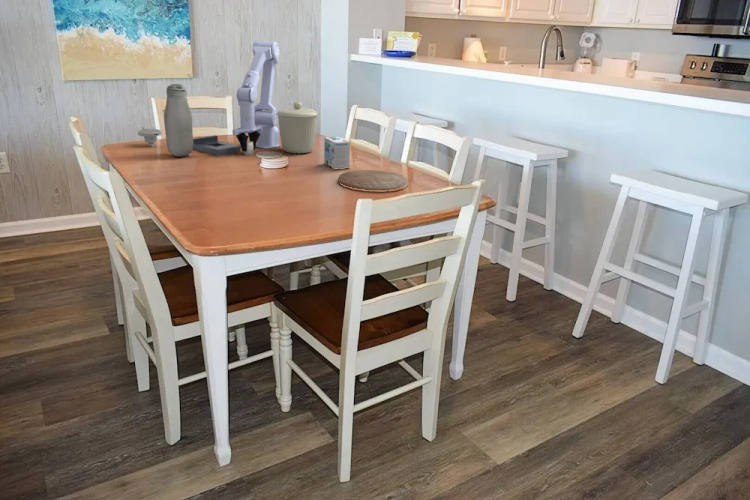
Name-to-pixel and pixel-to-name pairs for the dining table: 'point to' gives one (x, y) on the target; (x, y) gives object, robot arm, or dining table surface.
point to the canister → (297, 128)
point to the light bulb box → (337, 152)
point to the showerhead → (150, 135)
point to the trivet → (372, 180)
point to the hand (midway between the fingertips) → (248, 150)
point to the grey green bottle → (178, 121)
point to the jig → (214, 146)
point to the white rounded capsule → (249, 148)
